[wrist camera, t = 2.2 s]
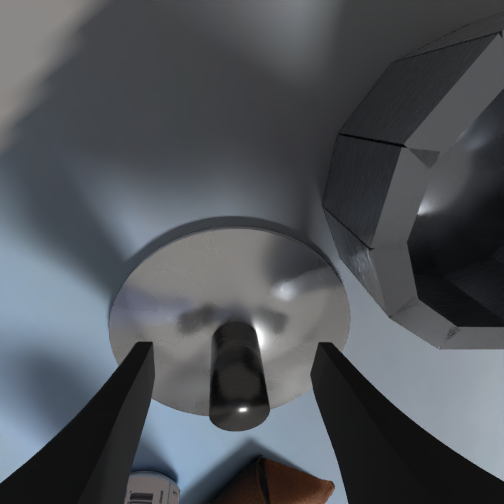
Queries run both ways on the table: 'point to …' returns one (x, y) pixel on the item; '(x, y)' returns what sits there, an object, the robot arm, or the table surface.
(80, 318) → the table surface
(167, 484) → the white labeled canister
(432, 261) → the saucepan
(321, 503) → the sunglasses case
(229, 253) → the lid
